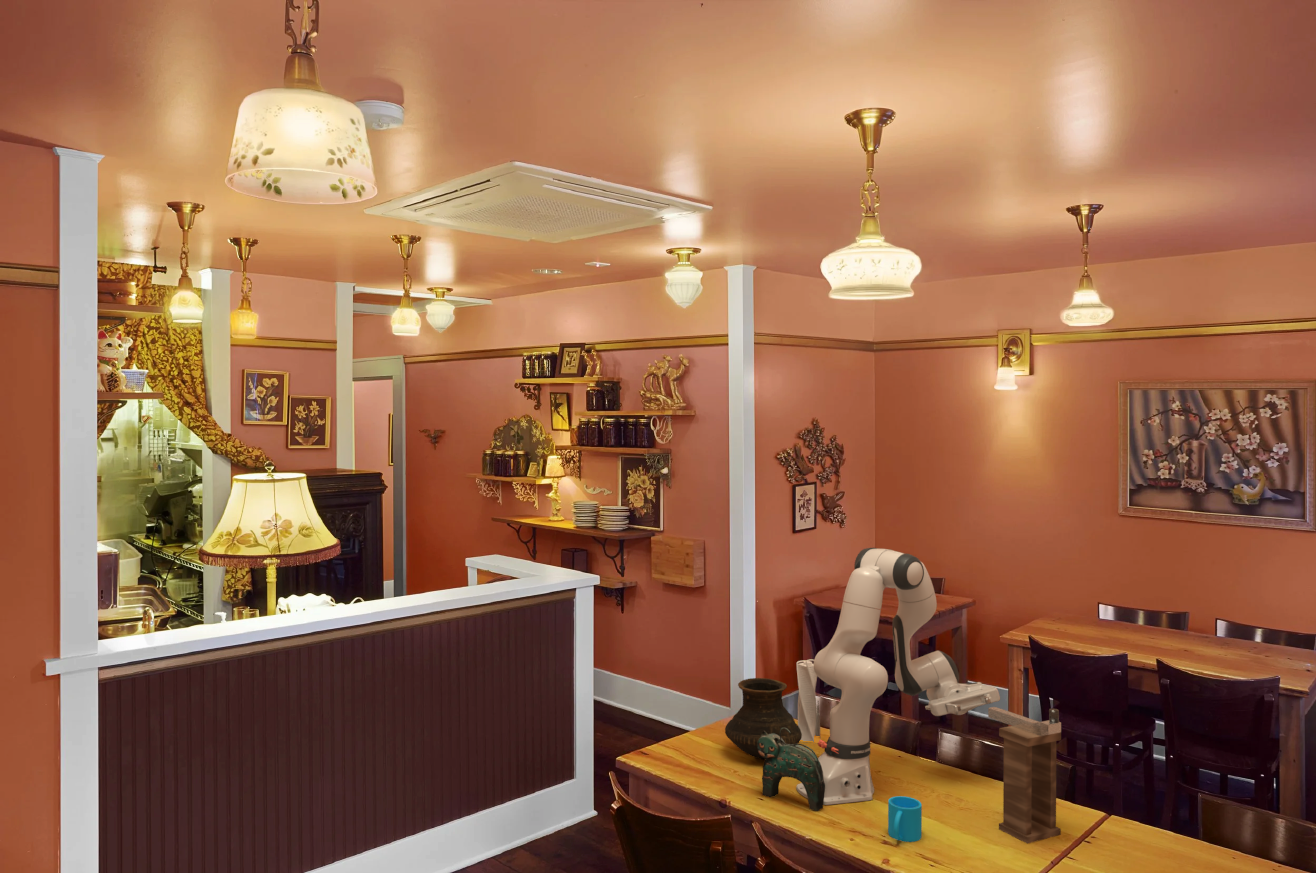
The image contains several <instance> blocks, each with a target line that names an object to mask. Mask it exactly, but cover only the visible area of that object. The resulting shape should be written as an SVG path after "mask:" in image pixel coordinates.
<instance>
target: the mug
mask: <svg viewBox="0 0 1316 873" xmlns="http://www.w3.org/2000/svg"><path fill="white" fill-rule="evenodd" d="M887 801H888V802H887V803H888V804H887V807H888V808H887V810H888V811H887V813H888V814H887V834H888V836H889V837H890V838H892V839H894V840H897V841H899V842H905V843H914V842H917V841H920V840H921V839H922V836H923V835H922V831H923V830H922V826H923V825H922V824H923V823H922V821H923V820H922V816H923V813H922V812H923V811H922V810H923V808H922V802H921V801H920V800H919V799H917V798H912V797H911V796H904V795H903V796H902V795H901V796H900V795H899V796H892V797H890V798H888V800H887Z"/></svg>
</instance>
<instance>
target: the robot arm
mask: <svg viewBox="0 0 1316 873" xmlns="http://www.w3.org/2000/svg"><path fill="white" fill-rule="evenodd" d="M853 569H854V570H853V571H852V572H851V574H850V576H849V578H848V580H847V581H848V582H847V584H846V587H845V590H844V595H843V598H842V605H841V609H840V614H839V619H838V624H837V627H836V629H835V632H834V634H833V636H832V638H831V639H830V641H829V643H828V644H827V645H826V646H825V647H823V648H822V649H821V650H819V651H818V652H817V654H816V655H815V657H814V659H813V660H814V661H813V664H814V671H815V673H816V675H817V678H819V679H820V680H821V681H823V682H824V683H825V684H826V685H829V686H831V687H834V688H837V689H839V690H841V695H840V696H841V697H840V701H839V702H838V703H837V704H836V705H834V706H833V707H832V708H831V709H830V713H829V736H828V739H827V741H824V740H822V739H820V740H819V742H818V743H817V746H818V747H819V748H821V749H824V752H822V753H821V755H819V757H818V756H817V758H818V760H819V762H820V764H821V767H822V771H823V777H824V782H825V793H824V802H823V806H825V805H826V806H829V805H837V804H839V805H840V804H848V803H855V802H858V803H859V802H865V801H873V794H874V793H875V787H874V784H873V779H872V774H871V765H870V755H871V740H870V717H871V716H870V715H871V711H872V708H873V706H874V703H875V701H876V699H877V698H879V697H880V696H882V695H883V694H884V692H885V691H886V689H887V688H888V683H889V675H888V671H887V670H886V668H885V667H884V666H883V665H881V663H879V662H877V661H875V660H874V659H873V658H870V657H867V656H863V655H861V653H862V650H863V649H864V647H865V645H866V644H867V643H868V642H870V641H873V639H874V638H876V636H877V633H878V629H879V622H880V619H881V612H882V605H883V599H884V598H883V597H884V596H883V594H884V590H885V589H886V588H890V589H895V592H896V596H897V599H898V606H897V611H896V614H895V615H894V617H893V618H892V623H891V624H892V628H891V629H892V642H893V655H894V673H893V674H894V678H895V684H896V686H897V688H898V689H899V691H900V692H901V693H904V694H905V695H909V696H911V697H915V696H917V695H920V694H921V693H923V692H925V691H926V697H927V699H928V701H929V702H928V705H925V706H924V707H925V710H928V711H930V713H931V714H932V715H933V716H934V717H941V716H945V715H949V714H953V715H956V716H961V715H965V714H966V713H968V712H970V711H972V710H973V709H975V708H978V707H982V706H984V705H990V704H993V703H997V702H999V701H1000V700H1001V695H1000V692H999V690H998V688H997V687H995V686H992V685H987V684H982V682H980V681H978V682H976V681H975V682H970V683H969V682H968V683H960V673H959V670H958V667H957V665H956V663H955V660H953V658H952V657H951V656H950V655H948V654H947V653H945V652H944V651H941V650H938V649H937V650H935V651H932V652H930V653H927V654H924V655H923V656H920V657H917V658H914V659H912V658H911V655H912V654H911V644H910V642H911V639H912V637H913V635H914V634H915V633H916V632H917V631H918V630H920V628H922V626H924V625H925V624H926V623H928V622H929V621H930V620H931V619H932V617H933V616H934V615H935V613H936V610H937V606H938V604H937V602H938V601H937V597H936V593H935V592H936V591H935V588H934V585H933V581H932V579H931V576H930V574H929V572H928V570H927V568H926V566H925V564H924V562H922V560H920V558H918V557H916V555H915V556H914V555H913V554H910V553H904V552H900V551H896V550H893V549H887V548H877V547H866V548H863V549H862V550H860V551H859V552H858V554H857V556H856V557H855V560H854V568H853ZM795 789H796V791H797V792H798V794H800V795H801V796H803V797H805V798H806V799H808V797H807V793H806V790H805V787H804V785H803V784H802V783H801V782H800V783H798V784H796V788H795Z"/></svg>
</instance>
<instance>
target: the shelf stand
mask: <svg viewBox="0 0 1316 873" xmlns="http://www.w3.org/2000/svg"><path fill="white" fill-rule="evenodd" d="M998 732H999V733H998V736H999V737H1001V738H1003V786H1002V788H1003V792H1002V793H1003V795H1002V796H1003V797H1002V798H1003V799H1002V800H1003V802H1002V803H1003V806H1002V808H1003V809H1002V812H1003V813H1002V814H1003V815H1002V817H1003V819H1002V820H1003V822H1000V823H998V830H999V831H1002V832H1003V833H1006V834H1008V835H1010V836H1011V837H1014V838H1015V839H1018V840H1020V841H1021V842H1023V843H1025V844H1031V843H1035V842H1038V841H1042V840H1045V839H1049V838H1053V837H1057V836H1060V835H1061V834H1062V833H1061V832H1062V831H1061V830H1062V829H1061V827H1058V826H1057V741H1062V731H1061V732H1060V733H1055V734H1049V735H1044V736H1040V735H1037V734H1034V733H1031V732H1028V731H1026V730H1023V729H1020V728H1017V727H1014V726H1011V725H1009V726H1004V727H999V729H998Z"/></svg>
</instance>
